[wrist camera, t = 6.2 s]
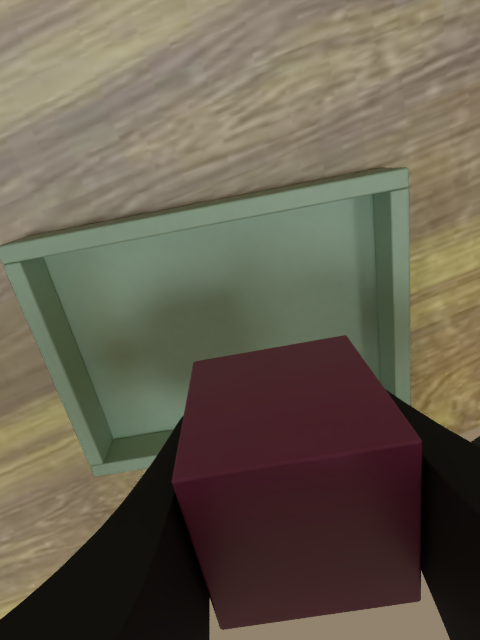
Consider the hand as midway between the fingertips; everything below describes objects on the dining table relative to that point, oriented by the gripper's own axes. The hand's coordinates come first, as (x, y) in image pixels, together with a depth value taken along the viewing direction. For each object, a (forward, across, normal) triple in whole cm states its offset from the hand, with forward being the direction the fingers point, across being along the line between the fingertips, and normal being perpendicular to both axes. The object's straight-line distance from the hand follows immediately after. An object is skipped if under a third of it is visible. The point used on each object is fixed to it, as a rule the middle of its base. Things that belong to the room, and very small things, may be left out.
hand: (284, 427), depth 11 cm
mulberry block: (+1, 0, 0) cm, 1 cm away
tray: (+8, +2, 0) cm, 8 cm away
